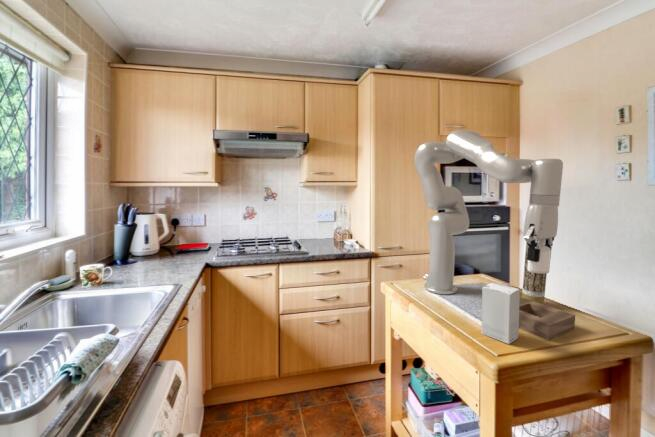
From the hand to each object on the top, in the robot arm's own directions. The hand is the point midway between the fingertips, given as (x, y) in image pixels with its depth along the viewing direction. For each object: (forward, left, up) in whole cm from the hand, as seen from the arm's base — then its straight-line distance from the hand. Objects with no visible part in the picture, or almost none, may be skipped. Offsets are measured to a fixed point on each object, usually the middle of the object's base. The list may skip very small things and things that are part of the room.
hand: (538, 259), depth 99 cm
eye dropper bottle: (0, 0, -4) cm, 4 cm away
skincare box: (0, -17, -21) cm, 27 cm away
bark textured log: (-9, +15, -21) cm, 27 cm away
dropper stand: (0, 0, -21) cm, 21 cm away
